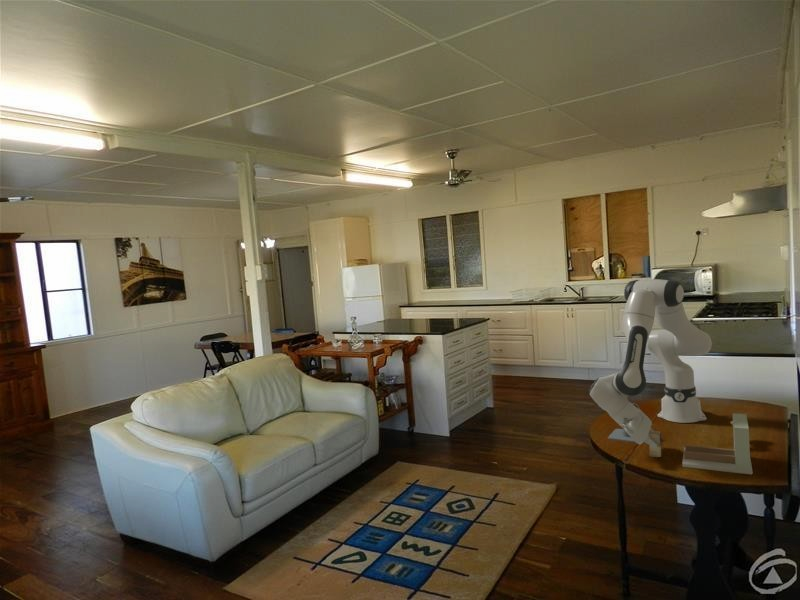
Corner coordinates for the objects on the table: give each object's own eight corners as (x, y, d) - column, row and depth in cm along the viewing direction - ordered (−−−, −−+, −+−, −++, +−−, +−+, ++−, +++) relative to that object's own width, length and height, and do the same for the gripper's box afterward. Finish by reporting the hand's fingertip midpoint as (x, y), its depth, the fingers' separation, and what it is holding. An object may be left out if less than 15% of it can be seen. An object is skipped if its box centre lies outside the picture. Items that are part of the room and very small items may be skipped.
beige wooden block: (650, 453, 193) (649, 430, 192) (662, 454, 191) (661, 431, 190) (649, 456, 190) (648, 433, 189) (661, 457, 188) (660, 434, 187)
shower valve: (646, 431, 201) (606, 426, 210) (647, 445, 202) (607, 440, 211) (653, 422, 211) (615, 417, 220) (654, 435, 211) (616, 430, 221)
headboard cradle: (684, 450, 192) (682, 410, 191) (749, 456, 182) (747, 414, 181) (682, 466, 179) (680, 423, 178) (752, 474, 168) (750, 428, 167)
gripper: (628, 418, 184) (660, 447, 180) (636, 402, 201) (665, 429, 197) (615, 429, 187) (647, 458, 182) (624, 412, 204) (653, 439, 200)
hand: (656, 443), depth 190 cm, fingers open, 5 cm apart
